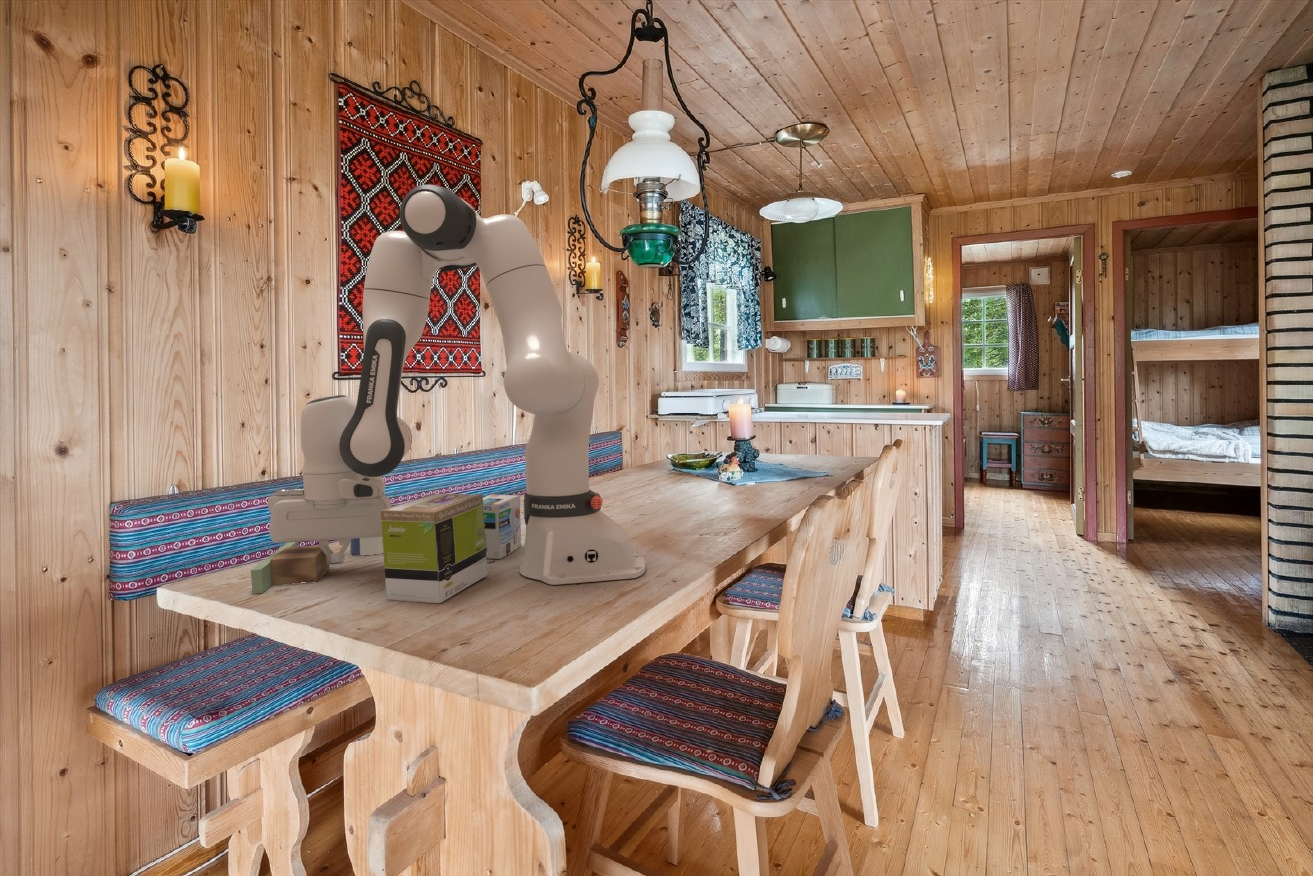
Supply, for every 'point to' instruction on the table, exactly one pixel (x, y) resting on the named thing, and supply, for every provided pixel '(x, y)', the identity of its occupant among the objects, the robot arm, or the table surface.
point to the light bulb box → (501, 525)
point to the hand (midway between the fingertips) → (335, 563)
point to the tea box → (433, 547)
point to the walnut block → (298, 565)
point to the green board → (265, 571)
